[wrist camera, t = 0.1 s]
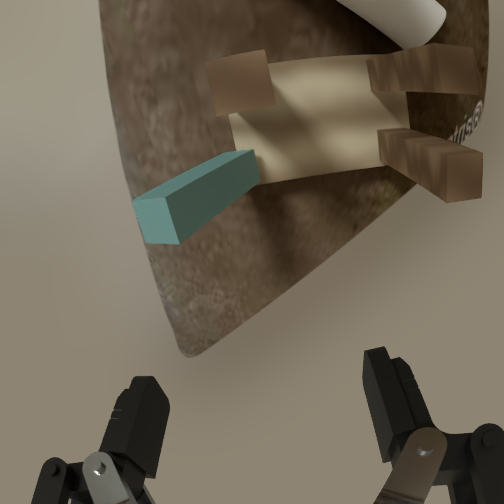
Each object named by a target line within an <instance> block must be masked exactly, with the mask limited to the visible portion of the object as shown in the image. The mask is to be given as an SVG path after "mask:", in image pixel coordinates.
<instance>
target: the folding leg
mask: <svg viewBox="0 0 504 504" xmlns="http://www.w3.org/2000/svg"><path fill="white" fill-rule="evenodd" d="M259 182H260V177H259V172H258V167H257V162H256V157H255V153H254V149H249V150H241V151H233V152H226V153H223V154H221V155H218V156H216V157H214V158H212V159H210V160H208V161H206V162H204V163H202V164H200V165H198V166H196V167H194V168H192V169H190V170H188V171H186V172H184V173H182V174H180V175H178V176H176V177H174V178H172V179H170V180H169V181H167V182H165V183H163V184H161V185H159V186H157V187H155V188H154V189H152V190H150V191H148V192H146V193H145V194H143V195H141V196H139V197H137V198H136V199H134V200H132V204H133V207H134V210H135V213H136V216H137V219H138V221H139V224H140V227H141V230H142V233H143V236H144V238H145V241H146V243H158V244H181V243H182V242H183V241H185V240H186V239H187V238H188V237H190V236H191V235H192V234H193V233H195V232H196V231H197V230H198V229H200V228H201V227H202V226H203V225H205V224H206V223H207V222H208V221H210V220H211V219H212V218H214V217H215V216H216V215H217V214H219V213H220V212H221V211H222V210H224V209H225V208H226V207H228V206H229V205H230V204H232V203H233V202H234V201H235V200H237V199H238V198H239V197H241V196H242V195H243V194H245V193H246V192H247V191H249V190H250V189H251V188H253V187H254V186H255V185H257V184H258V183H259Z"/></svg>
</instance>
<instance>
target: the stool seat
mask: <svg viewBox="0 0 504 504" xmlns="http://www.w3.org/2000/svg"><path fill="white" fill-rule="evenodd" d="M204 63H205V68H206V72H207V77H208V81H209V85H210V90H211V94H212V98H213V103H214V107H215V111H216V116H217V117H219V116H224V115H228V114H229V119H230V123H231V127H232V132H233V136H234V141H235V145H236V150H237V151H241V150H249V149H254V153H255V157H256V162H257V167H258V172H259V177H260V182H259V183H258V184H257V185H262V184H267V183H273V182H279V181H284V180H290V179H296V178H302V177H309V176H315V175H321V174H328V173H335V172H342V171H349V170H356V169H364V168H372V167H380V166H390V167H392V168H393V169H395V170H397V171H398V172H400V173H402V174H403V175H405V176H407V177H408V178H410V179H411V180H413V181H415V182H416V183H418V184H419V185H421V186H422V187H424V188H425V189H427V190H429V191H430V192H431V193H433V194H434V195H436V196H437V197H439V198H440V199H442V200H443V201H445V202H446V203H449V202H457V201H464V200H470V199H477V198H481V195H482V171H483V153H482V152H479V151H476V150H474V149H471V148H468V147H466V146H463V145H460V144H457V143H454V142H451V141H448V140H445V139H442V138H439V137H436V136H432V135H429V134H426V133H422V132H419V131H415V130H412V129H410V124H409V115H408V106H407V98H406V92H432V93H454V94H473V95H479V86H478V78H477V71H476V65H475V59H474V53H473V48H470V47H463V46H456V45H448V44H439V43H431V44H427V45H422V46H418V47H414V48H410V49H406V50H402V51H398V52H394V53H390V54H372V55H346V56H331V57H320V58H310V59H301V60H293V61H285V62H279V63H272V64H268V63H267V59H266V54H265V50H258V51H252V52H247V53H242V54H237V55H232V56H227V57H223V58H218V59H214V60H210V61H206V62H204ZM255 186H256V185H255Z"/></svg>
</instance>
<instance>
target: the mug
mask: <svg viewBox="0 0 504 504" xmlns="http://www.w3.org/2000/svg"><path fill="white" fill-rule="evenodd" d="M336 1H338V2H339V3H341V4H342V5H344V6H345V7H347V8H349V9H350V10H352V11H353V12H355V13H356V14H358V15H359V16H360V17H362V18H363V19H365V20H366V21H368V22H369V23H370V24H372V25H373V26H374V27H376V28H377V29H379V30H380V31H381V32H382V33H384V34H385V35H386V36H388V37H389V38H390V39H391V40H393V41H394V42H395V43H396V44H398V45H399V46H400V47H401V48H403V49H404V50H406V49H410V48H414V47H418V46H422V45H424V44H425V43H426V42H428V41H429V40H430V39H431V38H432V37H433V36H434V35H435V34H436V33H437V31H438V30H439V29H440V27H441V26H442V24H443V23H444V20H445V18H446V10H445V9H444V8H443V7H442V6H441V5H440V4H439V3H438V2H437V1H435V0H336Z"/></svg>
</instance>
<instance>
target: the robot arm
mask: <svg viewBox="0 0 504 504" xmlns="http://www.w3.org/2000/svg"><path fill="white" fill-rule="evenodd" d="M362 378H363V387H364V391H365V395H366V398H367V402H368V406H369V410H370V413H371V417H372V421H373V425H374V429H375V433H376V436H377V441H378V445H379V449H380V453H381V457H382V461H383V463H385V462H389V461H391V464H392V468H393V470H392V472H391V474H390V476H389V478H388V479H387V481H386V483H385V485H384V487H383V488H382V490H381V492H380V493H379V495H378V497H377V498H376V500H375V502H374V503H373V504H424V501H425V499H426V497H427V495H428V493H429V491H430V488H431V486H436V485H447V486H448V490H449V495H450V500H451V504H504V431H503V430H502V428H500V427H499V426H498V425H496V424H490V423H488V424H484V425H481V426H479V427H478V428H477V429H476V430H475V431H474V432H473V433H463V434H448V433H444V432H442V431H440V430H439V429H438V428H437V427H436V426H435V425H434V424H433V422H432V420H431V417H430V414H429V412H428V409H427V407H426V404H425V402H424V399H423V397H422V394H421V392H420V389H419V388H418V385H417V382H416V380H415V379H414V375H413V373H412V370H411V368H410V366H409V365H408V364H407V363H406V362H405V361H404V360H403V359H401V358H400V357H398V358H394V359H390V357H389V355H388V352H387V350H386V348H385V347H379V348H375V349H370V350H365V351H364V362H363V376H362ZM169 412H170V404H169V400H168V398H167V396H166V395H165V393H164V392H163V390H162V389H161V387H160V385H159V384H158V382H157V381H156V379H155V378H154V377H153V376H135V377H134V378H133V379H132V382H131V385H130V387H129V389H125V390H124V391H123V392H122V393H121V394H120V396H119V397H118V398H117V401H116V404H115V406H114V411H113V412H112V414H111V419H110V420H109V423H108V426H107V429H106V432H105V435H104V437H103V440H102V443H101V446H100V449H99V451H98V452H95V453H92V454H91V455H89V456H88V457H87V458H86V459H85V461H84V462H79V463H71V464H67V463H65V462H64V461H63V460H62V459H60V458H56V457H53V458H50V459H49V460H47V461H46V462H45V463H44V464H43V466H42V469H41V472H40V475H39V478H38V482H37V485H36V489H35V492H34V495H33V499H32V502H31V504H68V500H69V498H70V499H71V504H155V502H154V500H153V498H152V497H151V495H150V493H149V491H148V490H147V488H146V486H145V485H144V480H145V478H153V479H155V477H156V472H157V467H158V462H159V457H160V453H161V448H162V443H163V438H164V434H165V430H166V425H167V420H168V416H169Z"/></svg>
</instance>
